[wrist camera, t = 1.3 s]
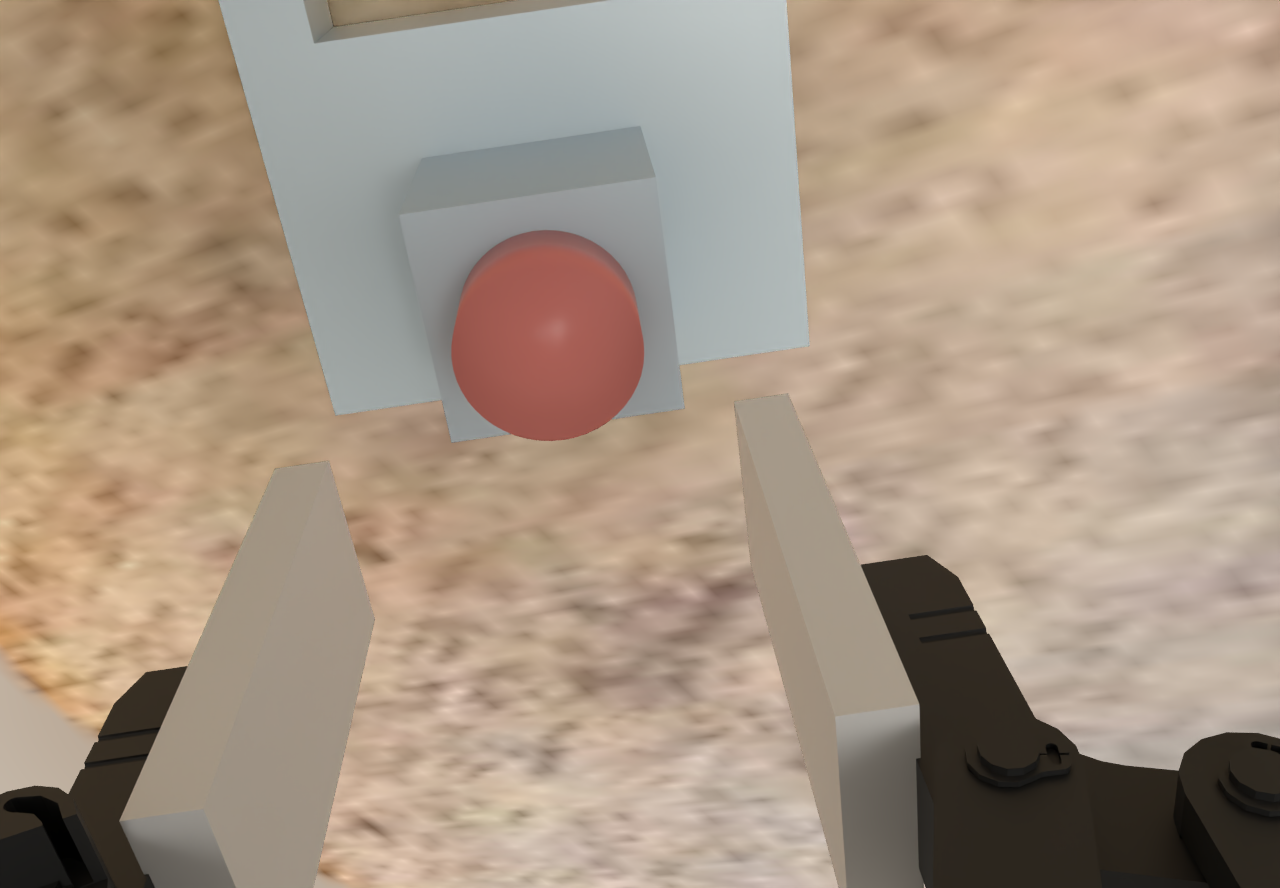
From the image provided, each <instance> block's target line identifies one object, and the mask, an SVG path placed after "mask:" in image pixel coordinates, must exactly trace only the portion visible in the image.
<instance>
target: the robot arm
mask: <svg viewBox="0 0 1280 888" xmlns="http://www.w3.org/2000/svg"><path fill="white" fill-rule="evenodd" d="M734 407H735V416H736V426H737V436H738V446H739V455H740V465H741V475H742V484H743V494H744V504H745V514H746V523H747V533H748V543H749V553H750V562H751V567H752V571H753V574H754V578H755V582H756V585H757V589H758V593H759V596H760V600H761V604H762V607H763V611H764V615H765V618H766V622H767V626H768V629H769V633H770V637H771V641H772V644H773V648H774V652H775V655H776V659H777V663H778V666H779V670H780V674H781V677H782V681H783V685H784V688H785V692H786V696H787V699H788V703H789V707H790V710H791V714H792V718H793V721H794V725H795V729H796V732H797V736H798V740H799V743H800V747H801V751H802V754H803V758H804V762H805V765H806V769H807V773H808V776H809V780H810V784H811V787H812V791H813V795H814V798H815V802H816V806H817V809H818V813H819V817H820V820H821V824H822V828H823V831H824V835H825V839H826V842H827V846H828V850H829V854H830V857H831V861H832V865H833V868H834V872H835V876H836V879H837V883H838V887H839V888H924V884H925V887H926V888H1280V739H1278V738H1275V737H1271V736H1267V735H1263V734H1259V733H1230V732H1227V733H1223V734H1219V735H1216V736H1212V737H1208V738H1204V739H1201V740H1200V741H1199V742H1197V743H1196V744H1195V745H1194V746H1192V747H1191V748H1190V749H1189V750H1187V751H1186V752H1185V753H1184V756H1183V759H1182V762H1181V765H1180V768H1179V771H1175V770H1165V769H1155V768H1144V767H1134V766H1125V765H1119V764H1113V763H1108V762H1102V761H1099V760H1096V759H1093V758H1090V757H1088V756H1085V755H1082V754H1079V752H1078V749H1077V747H1076V745H1075V744H1074V743H1072V742H1071V741H1070V740H1069V739H1068V738H1067V737H1066V736H1065V735H1064V734H1063V733H1062V732H1060V731H1059V730H1058V729H1057V728H1055V727H1053V726H1050V725H1048V724H1046V723H1044V722H1042V721H1040V720H1037V719H1036V718H1035V717H1034V715H1033V713H1032V711H1031V709H1030V708H1029V706H1028V704H1027V702H1026V700H1025V698H1024V697H1023V695H1022V693H1021V691H1020V689H1019V688H1018V686H1017V684H1016V682H1015V680H1014V678H1013V677H1012V675H1011V673H1010V671H1009V669H1008V667H1007V666H1006V664H1005V662H1004V660H1003V658H1002V656H1001V655H1000V653H999V651H998V649H997V647H996V646H995V644H994V642H993V640H992V638H991V636H990V635H989V634H987V632H986V627H985V625H984V624H983V622H982V620H981V618H980V616H979V615H978V613H977V611H974V607H973V604H972V602H971V600H970V598H969V596H968V594H967V593H966V591H965V589H964V587H963V585H962V584H961V582H960V580H959V578H958V577H957V576H956V575H954V574H953V573H952V572H950V571H949V570H947V569H946V568H945V567H943V566H942V565H940V564H939V563H938V562H936V561H935V560H933V559H932V558H931V557H929V556H928V555H924V556H917V557H910V558H903V559H897V560H890V561H883V562H876V563H869V564H862V565H860V563H859V560H858V558H857V556H856V553H855V551H854V548H853V546H852V544H851V541H850V539H849V537H848V534H847V532H846V530H845V527H844V525H843V522H842V520H841V518H840V515H839V513H838V511H837V508H836V506H835V504H834V501H833V499H832V496H831V494H830V492H829V489H828V487H827V485H826V482H825V480H824V478H823V475H822V473H821V470H820V468H819V466H818V463H817V461H816V459H815V456H814V454H813V452H812V449H811V447H810V445H809V442H808V440H807V437H806V435H805V433H804V430H803V428H802V426H801V423H800V421H799V419H798V416H797V414H796V411H795V409H794V407H793V404H792V402H791V400H790V397H789V395H788V394H781V395H774V396H768V397H761V398H754V399H747V400H740V401H734ZM374 621H375V618H374V614H373V611H372V607H371V604H370V600H369V597H368V593H367V590H366V587H365V583H364V580H363V576H362V573H361V569H360V566H359V563H358V559H357V556H356V552H355V549H354V545H353V542H352V539H351V535H350V532H349V528H348V525H347V521H346V518H345V515H344V511H343V508H342V504H341V501H340V497H339V494H338V490H337V487H336V484H335V480H334V477H333V473H332V470H331V466H330V463H329V461H324V462H317V463H311V464H304V465H297V466H290V467H283V468H277V469H275V470H274V472H273V474H272V477H271V479H270V481H269V483H268V486H267V488H266V490H265V492H264V495H263V497H262V499H261V501H260V504H259V506H258V508H257V511H256V513H255V515H254V517H253V520H252V522H251V524H250V526H249V529H248V531H247V533H246V535H245V538H244V540H243V542H242V544H241V547H240V549H239V551H238V554H237V556H236V558H235V560H234V563H233V565H232V567H231V569H230V572H229V574H228V576H227V578H226V581H225V583H224V585H223V587H222V590H221V592H220V594H219V597H218V599H217V601H216V603H215V606H214V608H213V610H212V612H211V615H210V617H209V619H208V621H207V624H206V626H205V628H204V630H203V633H202V635H201V637H200V640H199V642H198V644H197V646H196V649H195V651H194V653H193V655H192V658H191V660H190V662H189V664H188V666H185V667H179V668H172V669H165V670H158V671H151V672H146V673H145V674H144V675H143V676H142V677H141V678H140V679H139V680H138V681H137V682H136V683H135V684H134V685H133V686H132V687H131V688H130V689H129V690H128V691H127V692H126V693H125V694H124V695H123V696H122V697H121V698H120V699H118V700H117V701H116V702H115V703H114V705H113V707H112V709H111V711H110V713H109V715H108V717H107V719H106V721H105V723H104V725H103V727H102V729H101V731H100V733H99V735H98V738H99V741H98V742H95V743H94V745H93V747H92V749H91V751H90V753H89V755H88V757H87V759H86V761H85V769H82V770H80V772H79V775H78V776H77V778H76V780H75V783H74V784H73V786H72V788H71V790H70V792H69V794H67V793H65V792H64V791H62V790H61V789H59V788H54V787H43V786H32V787H27V788H22V789H17V790H12V791H8V792H5V793H3V794H1V795H0V888H313V887H314V883H315V879H316V875H317V870H318V866H319V862H320V857H321V853H322V848H323V844H324V840H325V835H326V831H327V827H328V822H329V818H330V813H331V809H332V805H333V800H334V796H335V792H336V787H337V783H338V778H339V774H340V770H341V765H342V761H343V757H344V752H345V748H346V743H347V739H348V735H349V730H350V726H351V722H352V717H353V713H354V708H355V704H356V700H357V695H358V691H359V687H360V682H361V678H362V673H363V669H364V665H365V660H366V656H367V652H368V647H369V643H370V638H371V634H372V630H373V625H374Z"/></svg>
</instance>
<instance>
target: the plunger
mask: <svg viewBox="0 0 1280 888" xmlns="http://www.w3.org/2000/svg"><path fill="white" fill-rule="evenodd" d="M451 358H452V365H453V370H454V374H455V377H456V380H457V383H458V385H459V387H460V389H461V391H462V393H463V394H464V396H465V398H466V399H467V401H468V402H469V403H470V404H471V406H472V407H473V408H474V409H475V410H476V411H477V412H478V413H479V414H480V415H481V416H482V417H483V418H484V419H486V420H487V421H489V422H490V423H491V424H493V425H494V426H496V427H498V428H500V429H502V430H503V431H505V432H508V433H510V434H513V435H516V436H519V437H523V438H527V439H533V440H541V441H555V440H565V439H570V438H575V437H578V436H581V435H584V434H587V433H589V432H591V431H593V430H595V429H598V428H599V427H601V426H602V425H604V424H606V423H607V422H608V421H610V420H611V419H612V418H613V417H615V416H616V415H617V414H618V413H619V412H620V411H621V410H622V409H623V408H624V406H625V405H626V404H627V402H628V401H629V400H630V398H631V397H632V395H633V393H634V391H635V389H636V388H637V385H638V383H639V380H640V377H641V374H642V369H643V364H644V341H643V335H642V330H641V324H640V319H639V313H638V308H637V302H636V298H635V293H634V290H633V287H632V285H631V282H630V280H629V278H628V276H627V274H626V272H625V271H624V270H623V268H622V267H621V265H620V264H619V263H618V262H617V261H616V260H615V258H614V257H613V256H612V255H611V254H609V253H608V252H607V251H606V250H605V249H603V248H602V247H601V246H599V245H597V244H596V243H594V242H593V241H591V240H588V239H586V238H584V237H582V236H579V235H576V234H572V233H569V232H563V231H557V230H539V231H531V232H526V233H522V234H519V235H516V236H513V237H510V238H508V239H506V240H504V241H502V242H500V243H499V244H497V245H496V246H494V247H493V248H492V249H490V250H489V251H488V252H487V253H486V254H485V255H483V256H482V257H481V259H480V260H479V261H478V262H477V263H476V264H475V266H474V267H473V269H472V270H471V272H470V274H469V275H468V277H467V279H466V282H465V284H464V286H463V290H462V293H461V297H460V302H459V307H458V312H457V317H456V322H455V326H454V331H453V337H452V345H451Z"/></svg>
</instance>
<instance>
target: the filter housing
mask: <svg viewBox="0 0 1280 888" xmlns="http://www.w3.org/2000/svg"><path fill="white" fill-rule="evenodd" d="M218 1H219V5H220V8H221V12H222V15H223V19H224V22H225V26H226V29H227V33H228V36H229V40H230V44H231V47H232V51H233V54H234V58H235V61H236V65H237V68H238V72H239V75H240V79H241V83H242V86H243V90H244V93H245V97H246V100H247V104H248V107H249V111H250V114H251V118H252V122H253V125H254V129H255V132H256V136H257V139H258V143H259V146H260V150H261V153H262V157H263V161H264V164H265V168H266V171H267V175H268V178H269V182H270V185H271V189H272V192H273V196H274V200H275V203H276V207H277V210H278V214H279V217H280V221H281V224H282V228H283V231H284V235H285V238H286V242H287V246H288V249H289V253H290V256H291V260H292V263H293V267H294V270H295V274H296V277H297V281H298V285H299V288H300V292H301V295H302V299H303V302H304V306H305V309H306V313H307V316H308V320H309V324H310V327H311V331H312V334H313V338H314V341H315V345H316V348H317V352H318V355H319V359H320V363H321V366H322V370H323V373H324V377H325V380H326V384H327V387H328V391H329V394H330V398H331V402H332V405H333V409H334V412H335V416H336V415H343V414H350V413H356V412H363V411H370V410H377V409H384V408H391V407H397V406H404V405H411V404H418V403H425V402H432V401H438V400H442V403H443V408H444V412H445V416H446V421H447V425H448V429H449V433H450V438H451V442H452V443H454V442H460V441H467V440H474V439H481V438H488V437H495V436H501V435H508V434H510V433H508V432H505V431H503V430H502V429H500V428H498V427H496V426H494V425H493V424H491V423H490V422H489V421H487V420H486V419H484V418H483V417H482V416H481V415H480V414H479V413H478V412H477V411H476V410H475V409H474V408H473V407H472V406H471V404H470V403H469V402H468V401H467V399H466V398H465V396H464V394H463V393H462V391H461V389H460V387H459V385H458V383H457V380H456V377H455V374H454V370H453V365H452V358H451V345H452V337H453V331H454V326H455V322H456V317H457V312H458V307H459V302H460V297H461V293H462V290H463V286H464V284H465V282H466V279H467V277H468V275H469V274H470V272H471V270H472V269H473V267H474V266H475V264H476V263H477V262H478V261H479V260H480V259H481V257H482V256H483V255H485V254H486V253H487V252H488V251H489V250H490V249H492V248H493V247H494V246H496V245H497V244H499V243H500V242H502V241H504V240H506V239H508V238H510V237H513V236H516V235H519V234H522V233H526V232H531V231H539V230H557V231H563V232H569V233H572V234H576V235H579V236H582V237H584V238H586V239H588V240H591V241H593V242H594V243H596V244H597V245H599V246H601V247H602V248H603V249H605V250H606V251H607V252H608V253H609V254H611V255H612V256H613V257H614V258H615V260H616V261H617V262H618V263H619V264H620V265H621V267H622V268H623V270H624V271H625V272H626V274H627V276H628V278H629V280H630V282H631V285H632V287H633V290H634V293H635V298H636V302H637V308H638V313H639V319H640V324H641V330H642V335H643V341H644V364H643V369H642V374H641V377H640V380H639V383H638V385H637V388H636V389H635V391H634V393H633V395H632V397H631V398H630V400H629V401H628V402H627V404H626V405H625V406H624V408H623V409H622V410H621V411H620V412H619V413H618V414H617V415H616V416H615V417H613V418H612V419H617V418H624V417H631V416H638V415H645V414H652V413H658V412H665V411H672V410H679V409H685V406H684V398H683V390H682V382H681V374H680V366H679V365H684V364H691V363H698V362H705V361H711V360H718V359H725V358H732V357H739V356H746V355H752V354H759V353H766V352H773V351H780V350H787V349H793V348H800V347H807V346H810V345H809V330H808V315H807V300H806V285H805V270H804V255H803V240H802V225H801V210H800V195H799V181H798V166H797V151H796V136H795V121H794V106H793V91H792V76H791V61H790V46H789V31H788V17H787V2H786V0H514V1H507V2H500V3H494V4H487V5H480V6H473V7H466V8H460V9H453V10H446V11H439V12H432V13H426V14H419V15H412V16H405V17H398V18H391V19H385V20H378V21H371V22H364V23H357V24H351V25H344V26H337V27H333V23H332V19H331V15H330V10H329V6H328V2H327V0H218Z"/></svg>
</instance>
